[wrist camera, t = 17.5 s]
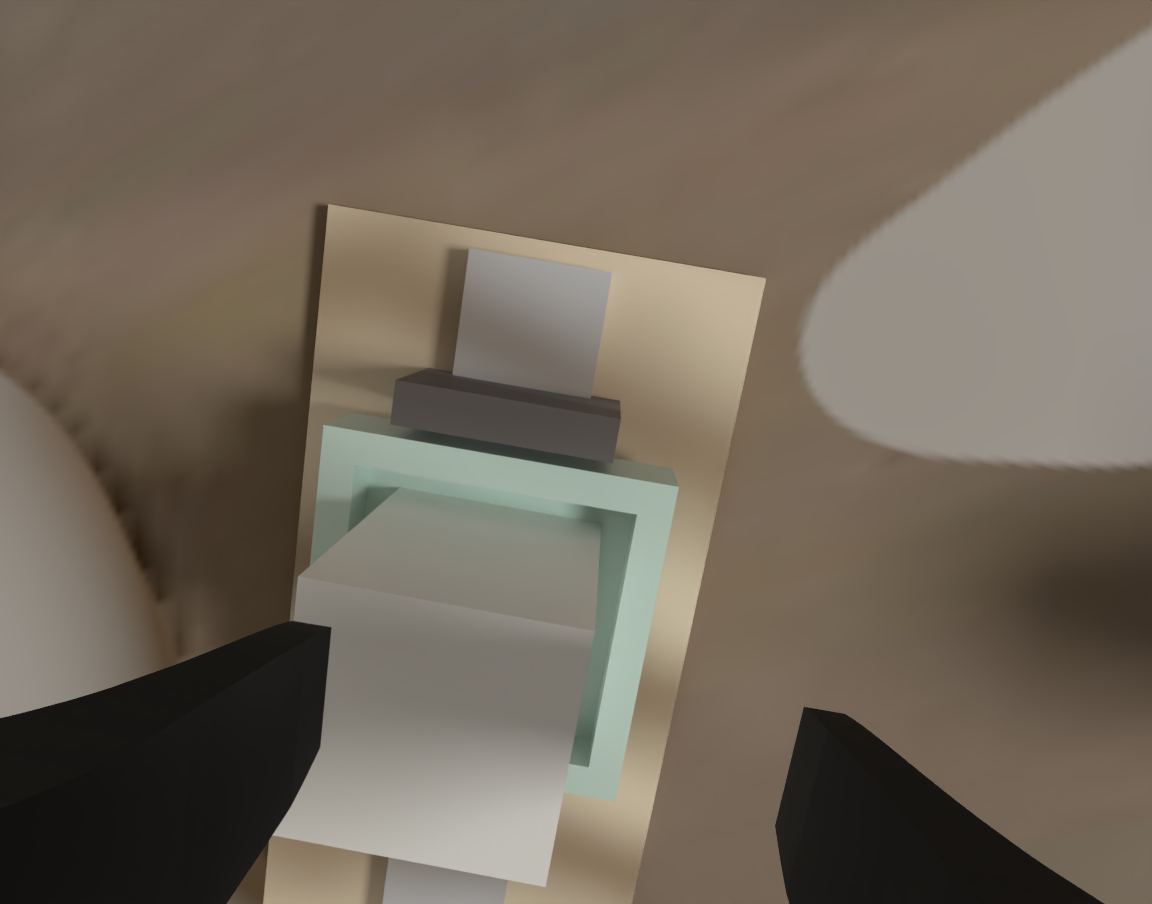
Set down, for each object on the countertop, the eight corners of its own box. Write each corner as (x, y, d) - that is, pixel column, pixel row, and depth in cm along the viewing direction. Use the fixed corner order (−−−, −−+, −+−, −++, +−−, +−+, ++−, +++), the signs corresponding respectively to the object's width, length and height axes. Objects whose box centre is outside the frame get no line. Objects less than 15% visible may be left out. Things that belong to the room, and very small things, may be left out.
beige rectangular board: (616, 965, 23) (616, 1078, 20) (268, 901, 23) (210, 1001, 20) (762, 278, 19) (795, 274, 15) (334, 206, 19) (274, 186, 16)
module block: (566, 707, 19) (545, 887, 13) (376, 671, 19) (271, 835, 13) (601, 523, 18) (595, 631, 12) (400, 487, 18) (297, 576, 12)
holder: (615, 755, 20) (615, 801, 18) (322, 702, 20) (292, 743, 18) (672, 468, 18) (678, 486, 17) (352, 412, 19) (323, 424, 17)
